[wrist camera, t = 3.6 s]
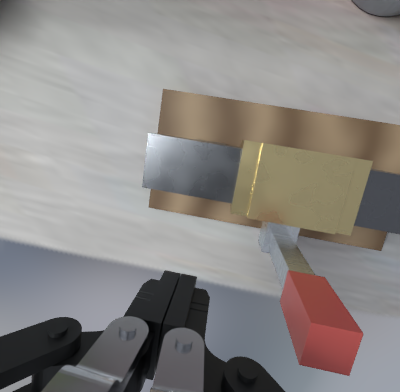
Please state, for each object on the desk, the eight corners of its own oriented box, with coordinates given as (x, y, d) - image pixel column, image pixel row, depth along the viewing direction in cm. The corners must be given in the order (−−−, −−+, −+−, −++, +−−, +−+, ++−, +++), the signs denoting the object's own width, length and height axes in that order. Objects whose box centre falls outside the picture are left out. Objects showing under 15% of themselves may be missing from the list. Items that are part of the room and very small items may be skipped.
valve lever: (258, 240, 23) (292, 363, 11) (264, 211, 23) (309, 303, 10) (286, 245, 23) (355, 377, 10) (293, 216, 23) (376, 317, 10)
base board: (152, 204, 33) (148, 207, 31) (166, 91, 30) (163, 88, 28) (373, 245, 31) (381, 250, 29) (411, 129, 28) (421, 128, 26)
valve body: (170, 177, 30) (136, 197, 19) (176, 129, 29) (145, 123, 18) (372, 213, 28) (459, 257, 18) (388, 164, 27) (489, 180, 17)
